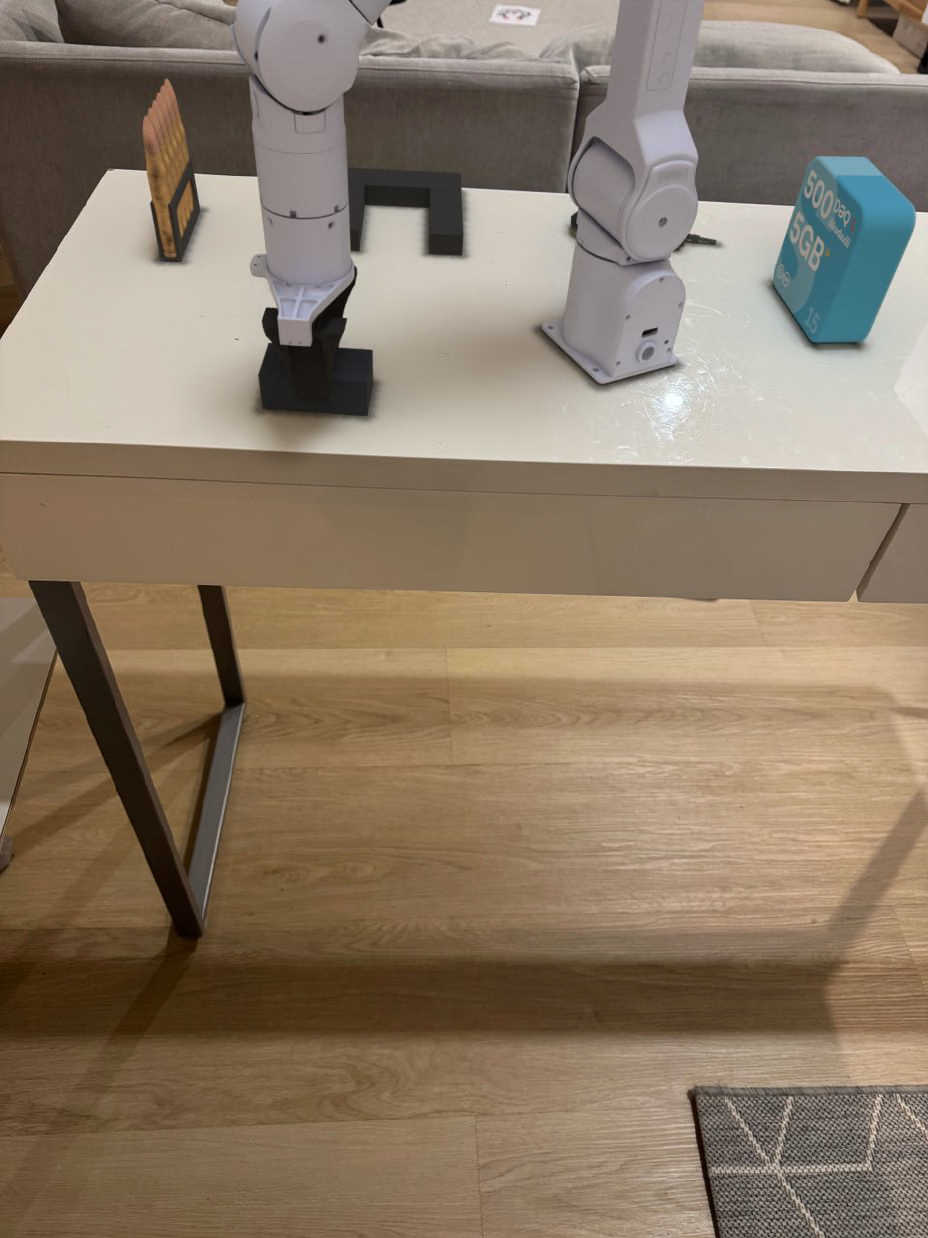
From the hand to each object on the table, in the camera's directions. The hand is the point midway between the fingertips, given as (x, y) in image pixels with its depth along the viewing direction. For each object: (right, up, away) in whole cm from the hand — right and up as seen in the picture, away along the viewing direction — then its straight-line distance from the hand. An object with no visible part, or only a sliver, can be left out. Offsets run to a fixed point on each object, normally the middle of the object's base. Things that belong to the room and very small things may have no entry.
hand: (318, 379), depth 69 cm
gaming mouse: (+29, +20, +22) cm, 42 cm away
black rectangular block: (0, -1, +1) cm, 1 cm away
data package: (+43, +10, +14) cm, 46 cm away
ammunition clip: (-16, +18, +17) cm, 30 cm away
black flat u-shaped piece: (+4, +22, +22) cm, 31 cm away
